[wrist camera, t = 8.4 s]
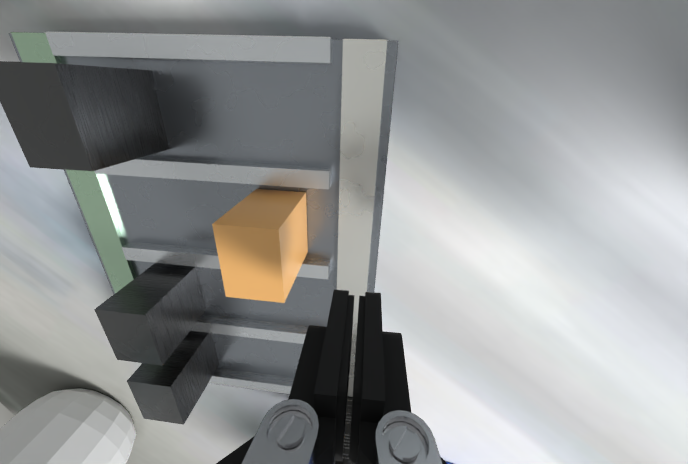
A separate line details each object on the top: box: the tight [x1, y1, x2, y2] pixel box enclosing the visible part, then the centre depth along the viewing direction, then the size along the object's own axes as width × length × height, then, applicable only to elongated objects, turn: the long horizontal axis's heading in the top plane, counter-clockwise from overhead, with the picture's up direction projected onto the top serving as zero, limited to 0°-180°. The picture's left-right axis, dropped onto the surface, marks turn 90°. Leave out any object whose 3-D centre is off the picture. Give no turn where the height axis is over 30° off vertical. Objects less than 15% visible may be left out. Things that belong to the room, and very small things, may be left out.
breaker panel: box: [0, 31, 398, 424], centre depth 18 cm, size 20×25×7 cm
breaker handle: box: [212, 189, 308, 303], centre depth 16 cm, size 3×4×5 cm
